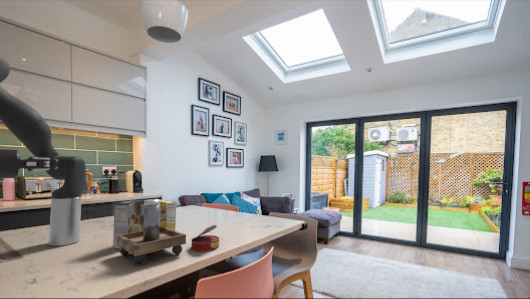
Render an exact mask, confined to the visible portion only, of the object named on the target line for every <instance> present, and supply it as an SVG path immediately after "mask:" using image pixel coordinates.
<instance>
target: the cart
mask: <svg viewBox="0 0 530 299" xmlns="http://www.w3.org/2000/svg"><path fill="white" fill-rule="evenodd" d="M186 244H187V234H185V233H183V232H180V231H177V230H176V229H175V230H172V229H169V228H166V227H160V239H159V240H155V241H150V242H144V241H143V231H138V232H133V233H127V234H122V235H117V245H118V246H120V247H121V248H119V253H120V254H121V255H122V256H127V255H129V254H131V255H133V256H134V257H133V262H134V263H135V265H138V266H139V265H140V266H141V265H142V264H144V263H145V261H146V258H147V257H146V255H147V254H150V253H154V252H158V251H161V250H166V249H169V248H172V249H171V251H172V253H173V254H174V255H180V254H181V253H182V252H183V246H182V245H186Z"/></svg>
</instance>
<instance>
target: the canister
mask: <svg viewBox="0 0 530 299" xmlns="http://www.w3.org/2000/svg"><path fill="white" fill-rule="evenodd" d="M161 200H162V199H161V198H160V199H159V198H157V199H156V198H152V199H151V198H150V199H144V227H143V241H144V242H150V241H155V240H159V239H160V202H161Z"/></svg>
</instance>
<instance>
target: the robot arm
mask: <svg viewBox="0 0 530 299" xmlns="http://www.w3.org/2000/svg"><path fill="white" fill-rule="evenodd" d="M10 67H11V66H10V64H9V61H8V60H7V59H6V58H5V56H4V55H2V54H1V53H0V121H1V123H3V124H4V126H5V127H6V128H7V130H8V131H10V133H12V134H13V135H14V136H15V138H16V139H17V140H18V141H20V143H22V145H24V146H25V148H26V149H27V150H28V151H29V152H30V154H32V155H33V156H27V158H26V159H21V158H20V151H19V150H17V149H4V148H3V149H2V148H0V179H2V180H3V179H16V178H17V177H18V175H19V170H21V169H24V170H26V171H27V172H38V171H45V172H46V174H48V176H50V178H52V179H54V180H59V181H60V180H61V181H62V180H63V185H61V187H59V188H57V189H54V190H52V192H51V199H50V200H51V201H50V219H49V234H48V245H49V246H52V247H58V246H59V247H60V246H67V245H71V244H75V243H78V242H79V241H80V234H81V217H82V216H81V213H82V194H83V190H84V188H85V182H86V181H85V179H86V172H87V171H86V170H87V169H86V168H87V167H86V166H87V165H86V162H85V160H84V159H83V157H81V156H78V155H77V156H73V155H72V156H71V155H70V156H69V155H67V156H65V155H61V154H60V153H59V152H58V150H56V149H55V148H54V146H53V144H52V130H51V126H50V125H49V123H48V122H47V121H46V120H45V119H44V117H43V116H42V115H41V114H40V113H39V112H38V110H36V109H34V108H33V107H31V106H30V105H28V104H27V103H25V102H24V101H22V100H20V98H18V97H16V96H15V95H13V94H11V93H10V92H8V91H7V90H6V89H5V88H4V87H3V85H1V83H2V82H4V81H5V80H6V79H7V78H8V77H9V75H10V73H11V72H10V70H11V68H10Z"/></svg>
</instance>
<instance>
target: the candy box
mask: <svg viewBox="0 0 530 299" xmlns="http://www.w3.org/2000/svg"><path fill="white" fill-rule="evenodd" d="M160 200H161V202H160V227H166V228H169V229H172V230H175V231H176V223H177V222H176V220H177V219H176V218H177V216H176V215H177V202H176V201H172V200H166V199H160Z"/></svg>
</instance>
